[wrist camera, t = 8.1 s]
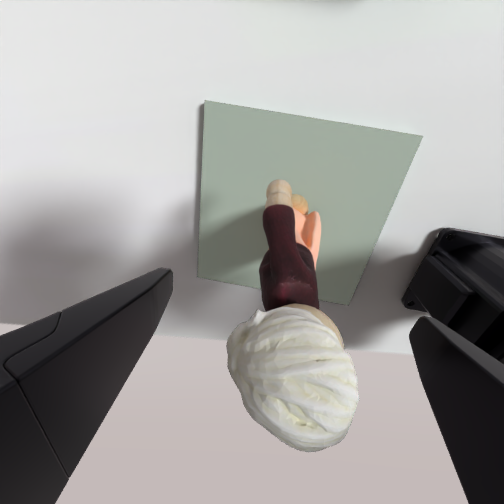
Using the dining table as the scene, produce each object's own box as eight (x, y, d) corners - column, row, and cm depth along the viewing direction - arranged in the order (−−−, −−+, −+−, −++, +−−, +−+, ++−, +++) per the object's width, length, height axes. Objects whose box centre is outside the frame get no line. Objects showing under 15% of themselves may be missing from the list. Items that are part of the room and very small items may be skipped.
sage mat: (417, 135, 14) (423, 136, 13) (346, 300, 19) (348, 305, 19) (207, 100, 14) (204, 100, 13) (199, 273, 20) (197, 277, 19)
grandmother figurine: (329, 261, 17) (411, 513, 6) (277, 273, 18) (267, 510, 7) (303, 150, 14) (380, 260, 3) (242, 171, 15) (126, 314, 4)
